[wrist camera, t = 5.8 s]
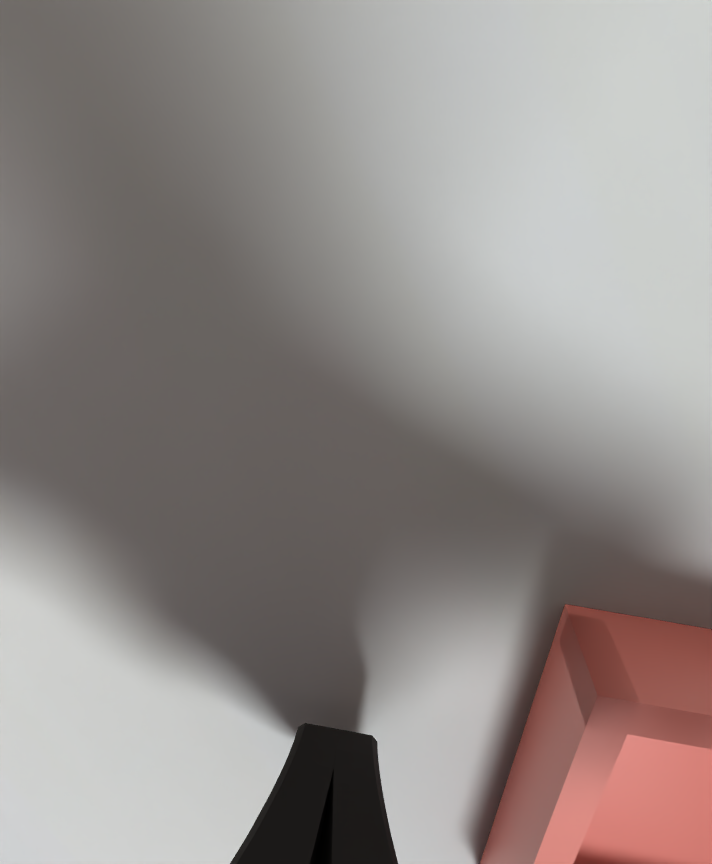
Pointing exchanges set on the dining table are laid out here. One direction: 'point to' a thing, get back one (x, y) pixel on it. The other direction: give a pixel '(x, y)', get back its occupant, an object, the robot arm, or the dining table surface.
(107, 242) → the dining table surface
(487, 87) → the dining table surface
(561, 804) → the tray
